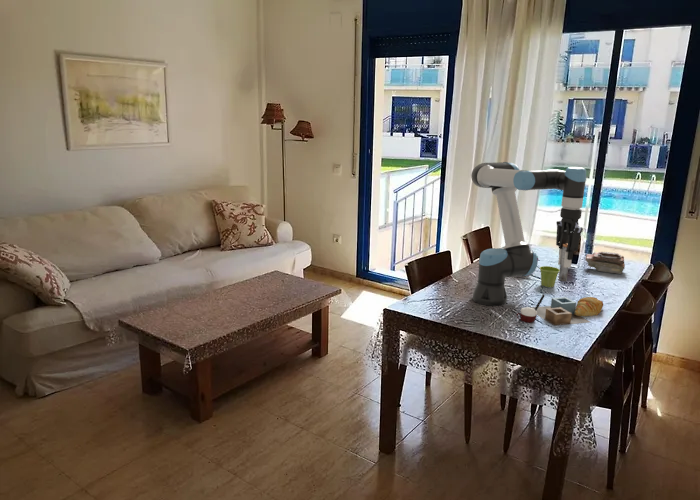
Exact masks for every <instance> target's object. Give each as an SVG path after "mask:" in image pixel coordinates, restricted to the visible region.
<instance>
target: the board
mask: <svg viewBox="0 0 700 500" xmlns="http://www.w3.org/2000/svg"><path fill="white" fill-rule="evenodd" d="M535 307H536V306H535ZM535 307H534V306H533V307H531V308H533V309H535ZM546 308H551V305H546V306H543V305H542V306H539V307H538V309H537V310H536V311H537V314H536V315H537V316H538V317H540V318H542V319H543V320H545V321H546V322H547V323H549V324H550V325H553V326H554V327H556V326H558V327H559V326H565V325H578V324H587V323H591V321H589V320H588V319H586V318H584V316H576V315H575V314H572V315H571V323H561V324H555V323H553V322H551V321H550V320H548V319H547V318H545V314H546Z"/></svg>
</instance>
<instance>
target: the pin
mask: <svg viewBox="0 0 700 500" xmlns="http://www.w3.org/2000/svg"><path fill="white" fill-rule="evenodd" d="M570 249H571V248H570ZM566 250H567V243H563V248H562V256H561V264H560V265H559V270H560V272H559V273H558V281H560V282H567V279H568V273H569V272H568V271H569V267H566V268H565V267H564V260H565V252H566Z"/></svg>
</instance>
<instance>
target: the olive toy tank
mask: <svg viewBox="0 0 700 500" xmlns="http://www.w3.org/2000/svg"><path fill="white" fill-rule="evenodd" d="M584 258H585V259H584V261H586V263H587V266H588V267H590V268H594V269H596V271H597V272H604V273H610V274H611V273H612V274H617V275H622V274H623V272H624V270H625V269H626V267H625V257H624V255H621V254H620V253H617V252H610V251H609V252H608V251H598V252H597V251H595V252H593V253H587V254H586V255H585V257H584Z"/></svg>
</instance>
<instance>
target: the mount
mask: <svg viewBox="0 0 700 500" xmlns="http://www.w3.org/2000/svg"><path fill="white" fill-rule="evenodd" d="M571 315H572V313H570V312H568V311H567V310H565V309H563V308H561V307H558V308H546V314H545V318H547V319H548V320H550V321H551V322H553V323H555V324H561V323H571Z"/></svg>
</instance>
